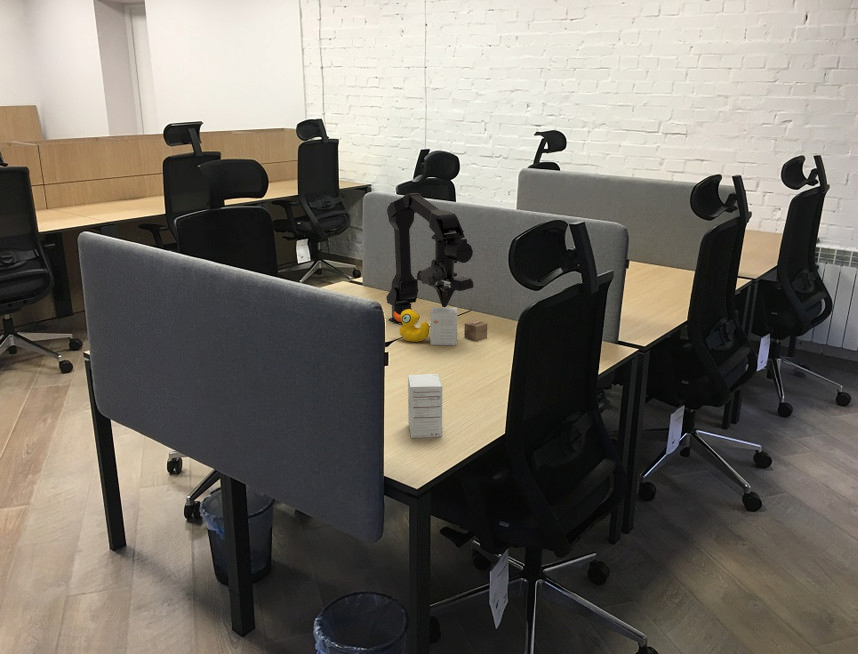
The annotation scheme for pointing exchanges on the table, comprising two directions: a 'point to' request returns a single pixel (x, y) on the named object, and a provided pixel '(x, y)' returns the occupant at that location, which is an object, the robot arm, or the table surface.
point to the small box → (443, 326)
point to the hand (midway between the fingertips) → (444, 306)
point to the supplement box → (425, 405)
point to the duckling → (412, 326)
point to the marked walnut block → (475, 330)
